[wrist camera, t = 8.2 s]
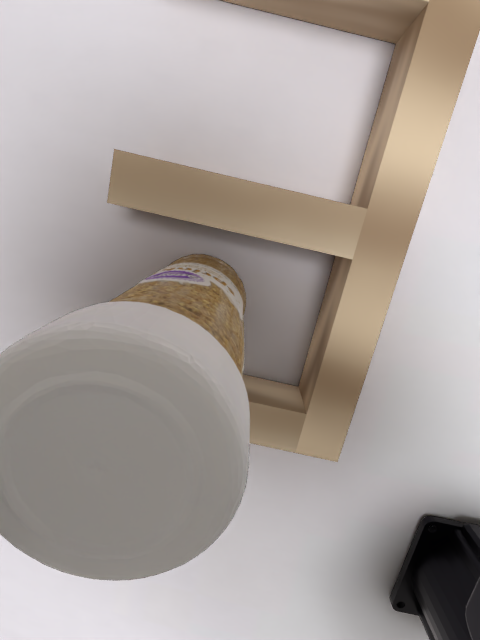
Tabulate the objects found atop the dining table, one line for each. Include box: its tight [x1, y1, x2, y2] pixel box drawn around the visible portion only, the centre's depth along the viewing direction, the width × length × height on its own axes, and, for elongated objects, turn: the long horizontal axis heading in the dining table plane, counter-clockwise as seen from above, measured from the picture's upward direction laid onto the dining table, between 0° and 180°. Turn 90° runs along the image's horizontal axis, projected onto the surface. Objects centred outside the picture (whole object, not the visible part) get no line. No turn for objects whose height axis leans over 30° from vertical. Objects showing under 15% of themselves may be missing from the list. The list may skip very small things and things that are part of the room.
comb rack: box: [107, 0, 480, 462], centre depth 16 cm, size 20×12×3 cm, turn 167°
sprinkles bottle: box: [0, 254, 250, 580], centre depth 12 cm, size 5×5×14 cm
